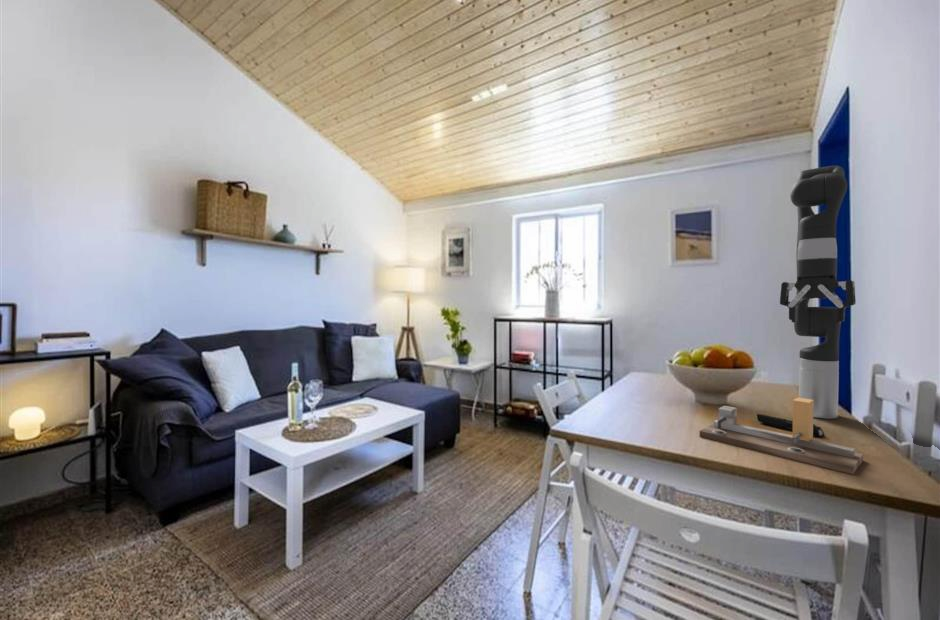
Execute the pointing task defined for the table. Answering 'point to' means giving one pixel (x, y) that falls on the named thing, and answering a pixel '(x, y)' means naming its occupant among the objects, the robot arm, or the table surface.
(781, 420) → the electric trimmer
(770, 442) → the bolt plate
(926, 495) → the table surface
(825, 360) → the robot arm
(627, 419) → the table surface
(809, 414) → the block
